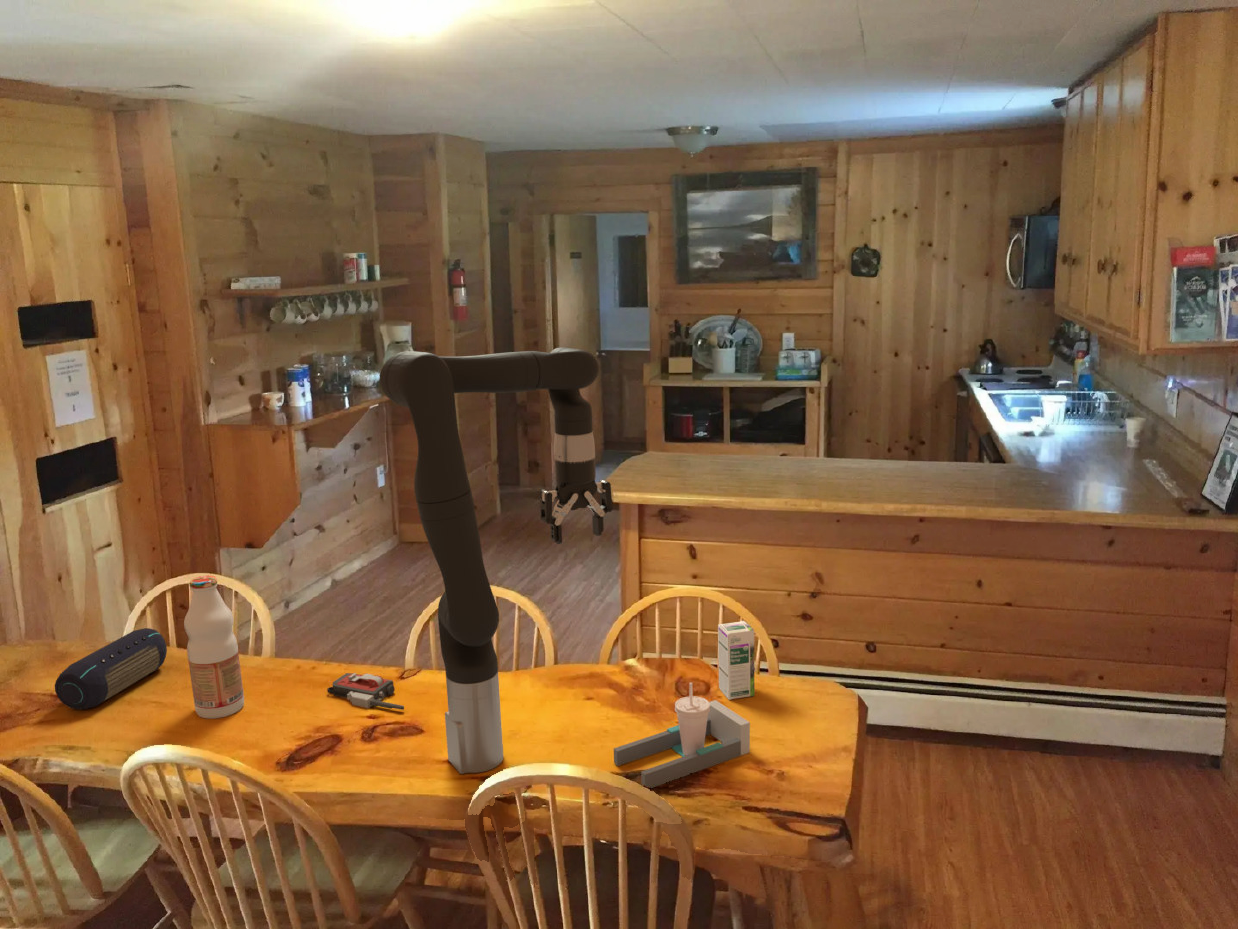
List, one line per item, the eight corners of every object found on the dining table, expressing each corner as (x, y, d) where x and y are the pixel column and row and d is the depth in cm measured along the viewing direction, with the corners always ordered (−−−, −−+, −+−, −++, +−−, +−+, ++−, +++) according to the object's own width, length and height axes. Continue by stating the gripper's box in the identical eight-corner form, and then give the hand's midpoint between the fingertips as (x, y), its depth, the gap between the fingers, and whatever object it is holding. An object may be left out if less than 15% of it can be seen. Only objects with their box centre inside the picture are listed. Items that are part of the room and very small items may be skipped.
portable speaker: (92, 719, 202) (85, 673, 200) (52, 713, 205) (44, 668, 202) (178, 666, 225) (172, 624, 223) (141, 662, 228) (135, 620, 226)
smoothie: (669, 757, 181) (668, 685, 178) (684, 740, 187) (683, 671, 183) (702, 765, 178) (701, 692, 175) (716, 748, 184) (715, 678, 180)
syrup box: (728, 700, 202) (728, 633, 198) (717, 688, 207) (717, 622, 204) (754, 696, 203) (755, 630, 200) (743, 684, 209) (743, 619, 205)
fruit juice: (194, 723, 199) (176, 590, 192) (196, 703, 207) (178, 575, 201) (245, 714, 202) (228, 583, 195) (244, 694, 210) (228, 568, 204)
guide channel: (645, 790, 171) (644, 759, 170) (613, 763, 180) (612, 733, 179) (749, 752, 182) (750, 722, 181) (715, 728, 191) (715, 699, 190)
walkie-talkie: (320, 701, 208) (401, 717, 200) (318, 681, 207) (399, 696, 199) (347, 683, 216) (425, 697, 208) (345, 664, 214) (424, 678, 207)
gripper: (549, 465, 180) (553, 551, 184) (618, 453, 187) (620, 537, 191) (531, 457, 186) (535, 540, 190) (597, 446, 193) (600, 527, 197)
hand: (577, 538), depth 190 cm, fingers open, 8 cm apart
